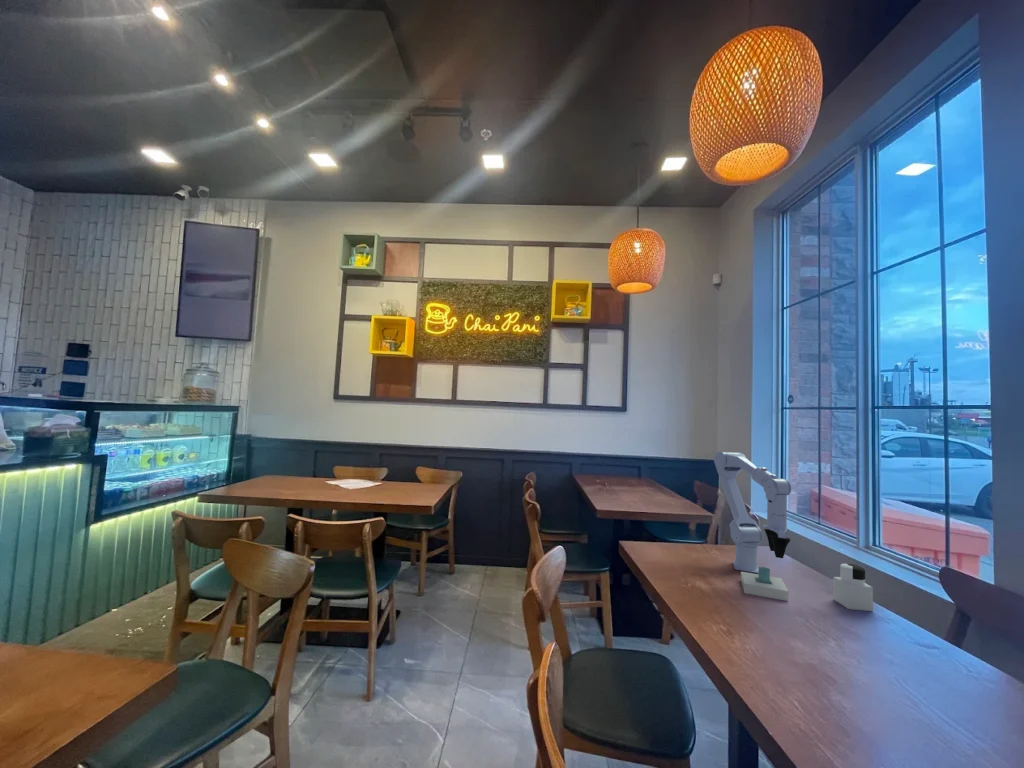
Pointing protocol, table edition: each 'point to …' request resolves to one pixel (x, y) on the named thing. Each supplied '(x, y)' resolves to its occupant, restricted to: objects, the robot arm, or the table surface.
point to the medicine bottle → (852, 588)
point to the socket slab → (764, 587)
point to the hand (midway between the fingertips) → (776, 554)
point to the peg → (764, 575)
